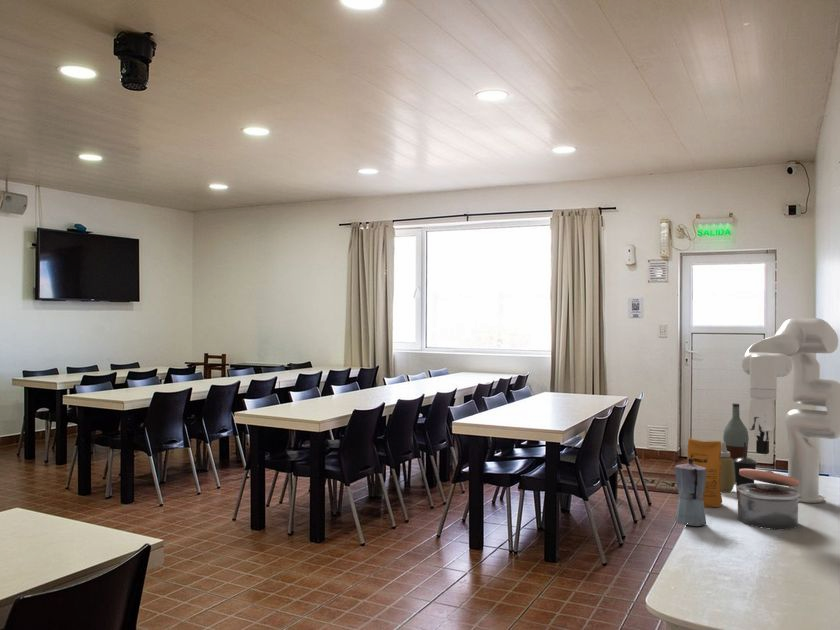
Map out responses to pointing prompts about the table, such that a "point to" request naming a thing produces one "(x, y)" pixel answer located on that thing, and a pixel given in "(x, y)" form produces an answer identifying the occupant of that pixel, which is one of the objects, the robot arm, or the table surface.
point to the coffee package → (708, 468)
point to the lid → (769, 477)
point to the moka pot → (690, 494)
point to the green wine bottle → (735, 435)
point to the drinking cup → (743, 464)
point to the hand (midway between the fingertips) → (762, 453)
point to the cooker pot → (768, 505)
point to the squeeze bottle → (726, 470)
